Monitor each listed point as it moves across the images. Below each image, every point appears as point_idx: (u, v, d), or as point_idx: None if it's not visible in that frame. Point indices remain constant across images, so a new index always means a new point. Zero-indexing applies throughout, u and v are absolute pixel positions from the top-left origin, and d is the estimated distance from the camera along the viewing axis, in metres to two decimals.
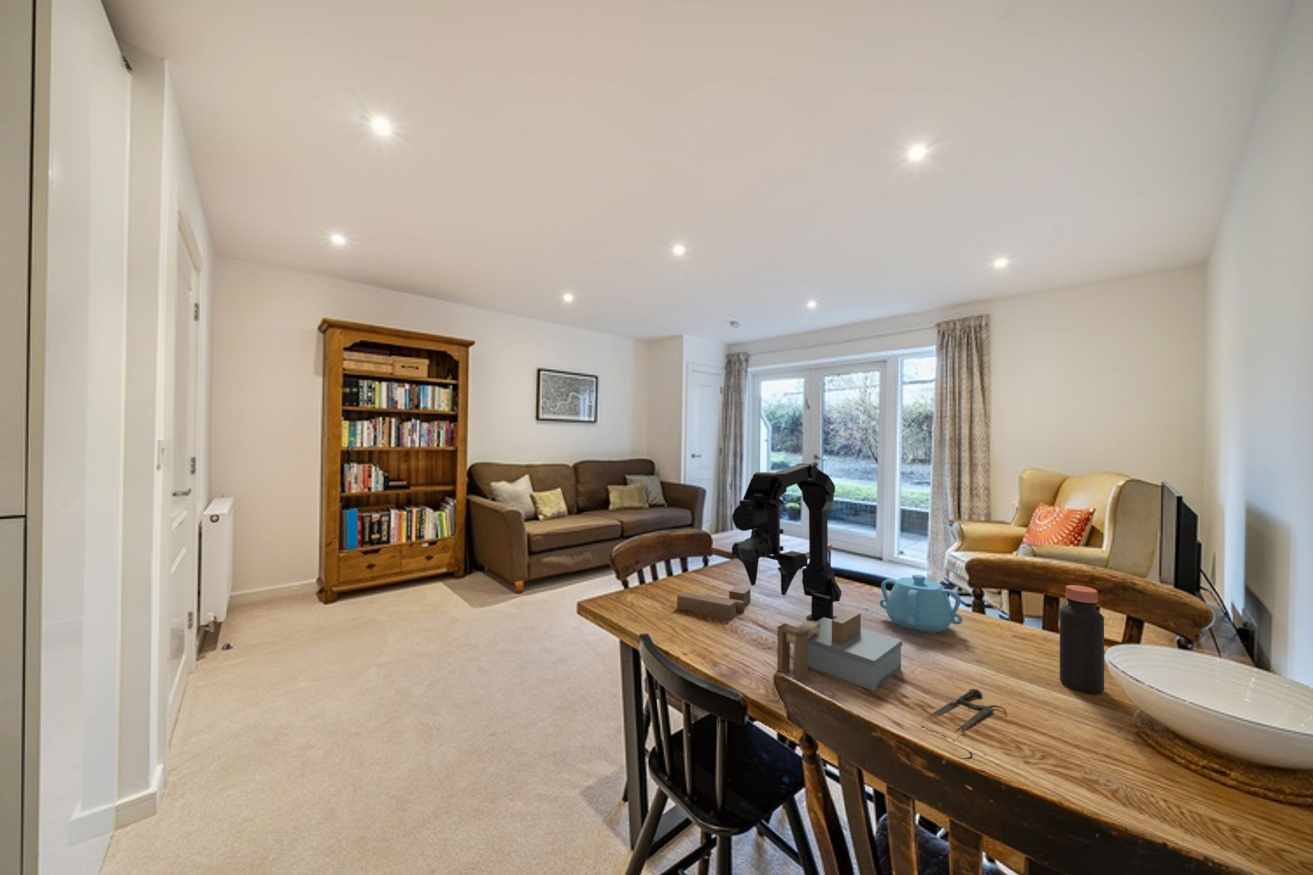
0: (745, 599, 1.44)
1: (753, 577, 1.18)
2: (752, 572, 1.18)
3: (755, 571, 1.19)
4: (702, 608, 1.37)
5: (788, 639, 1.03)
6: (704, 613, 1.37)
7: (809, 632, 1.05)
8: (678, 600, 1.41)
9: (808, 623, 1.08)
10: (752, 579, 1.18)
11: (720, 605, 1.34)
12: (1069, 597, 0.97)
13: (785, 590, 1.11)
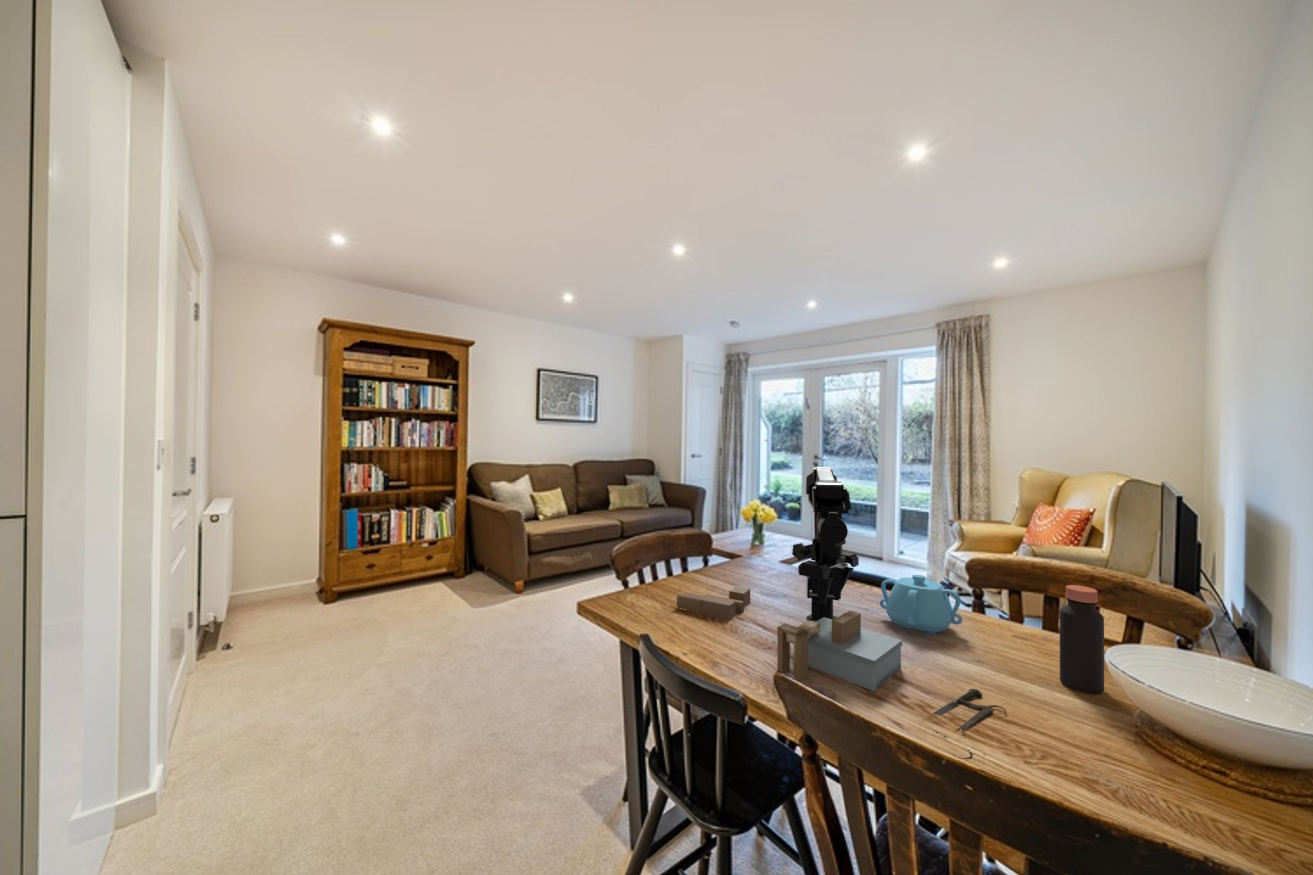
0: (745, 599, 1.44)
1: (835, 588, 1.16)
2: (835, 583, 1.17)
3: (839, 584, 1.16)
4: (701, 608, 1.37)
5: (788, 639, 1.03)
6: (703, 613, 1.37)
7: (809, 632, 1.05)
8: (678, 600, 1.42)
9: (808, 623, 1.08)
10: (834, 590, 1.17)
11: (720, 604, 1.34)
12: (1069, 597, 0.97)
13: (821, 598, 1.12)
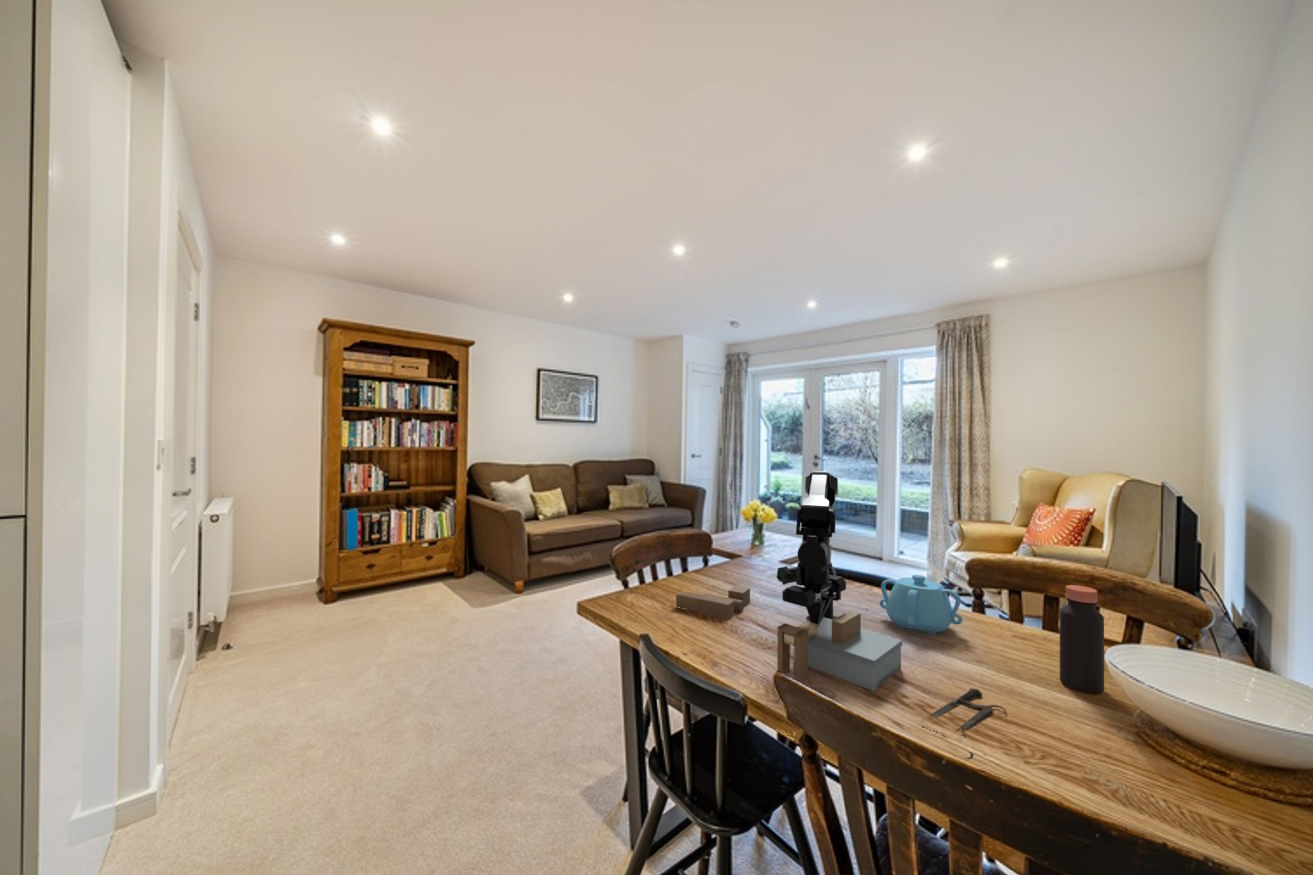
0: (744, 598, 1.44)
1: None
2: None
3: None
4: (700, 607, 1.38)
5: (786, 640, 1.02)
6: (702, 612, 1.38)
7: None
8: (677, 599, 1.42)
9: (806, 624, 1.08)
10: None
11: (718, 604, 1.35)
12: (1069, 597, 0.97)
13: (813, 622, 1.09)
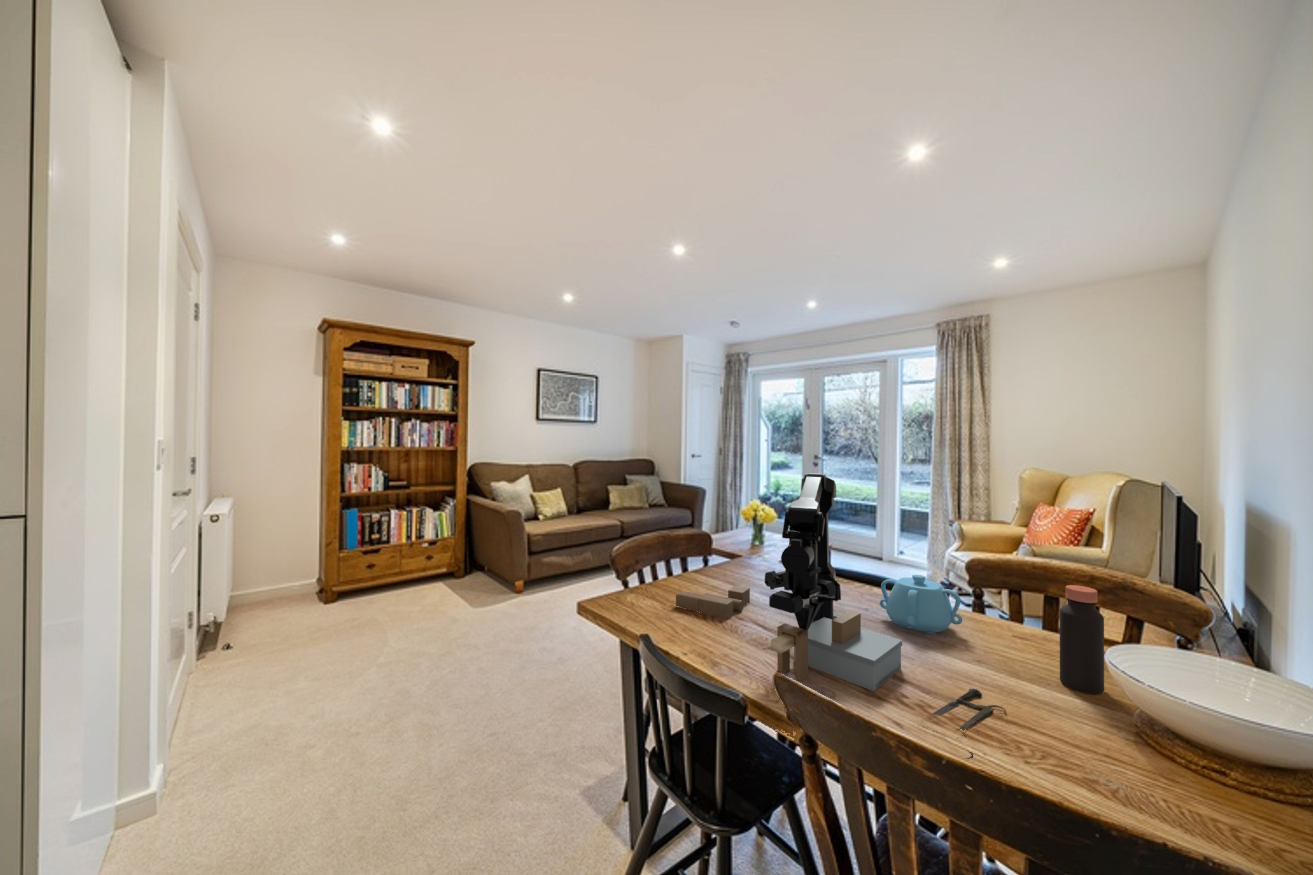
0: (744, 598, 1.44)
1: None
2: None
3: None
4: (700, 606, 1.38)
5: (773, 647, 0.99)
6: (702, 611, 1.38)
7: None
8: (677, 598, 1.43)
9: None
10: None
11: (717, 603, 1.35)
12: (1069, 597, 0.97)
13: (802, 628, 1.06)
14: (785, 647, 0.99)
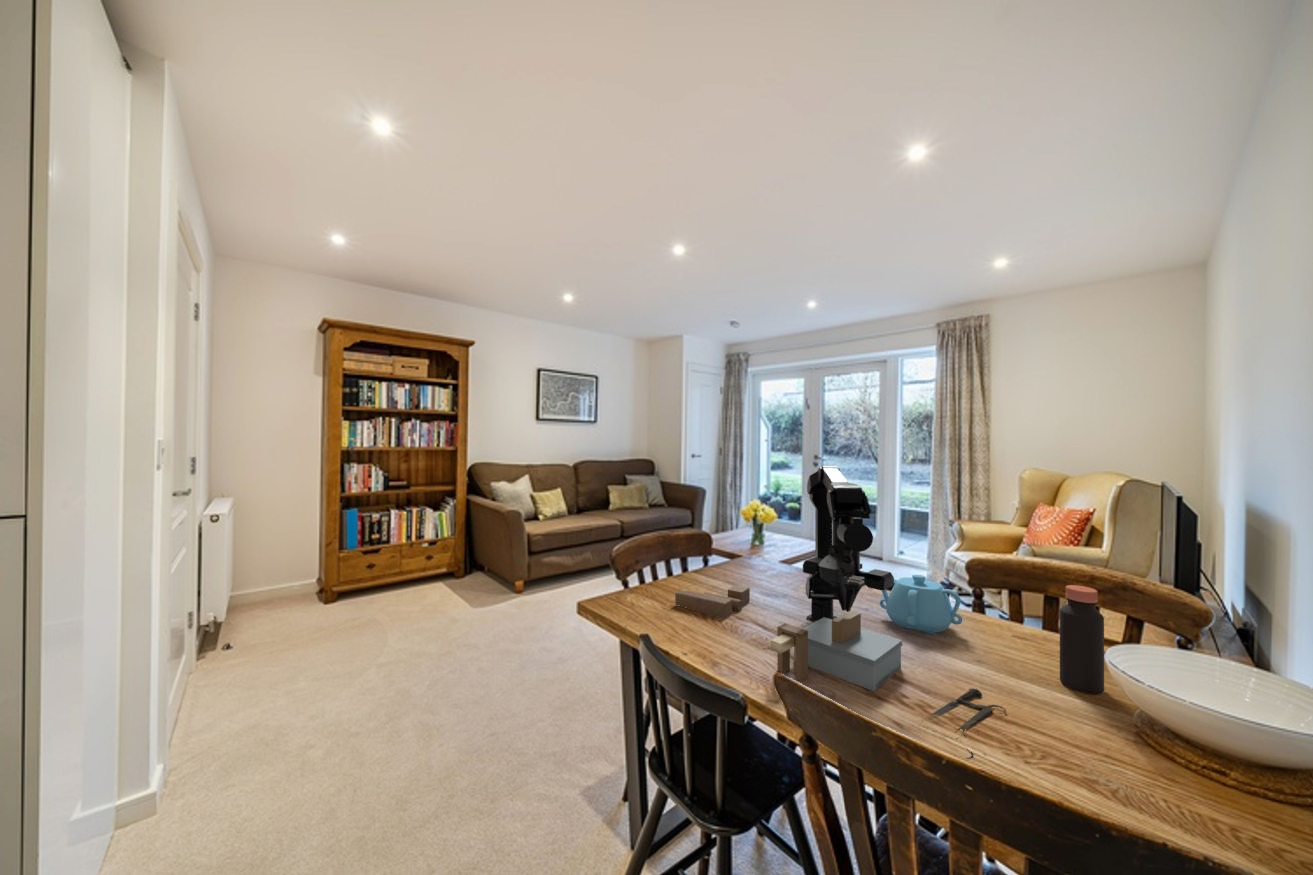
0: (743, 598, 1.45)
1: (844, 601, 1.07)
2: (843, 596, 1.07)
3: (845, 594, 1.08)
4: (698, 605, 1.39)
5: (773, 647, 0.99)
6: (700, 610, 1.39)
7: None
8: (676, 597, 1.44)
9: None
10: (843, 604, 1.07)
11: (716, 602, 1.36)
12: (1069, 597, 0.97)
13: (850, 606, 1.06)
14: (785, 647, 0.99)
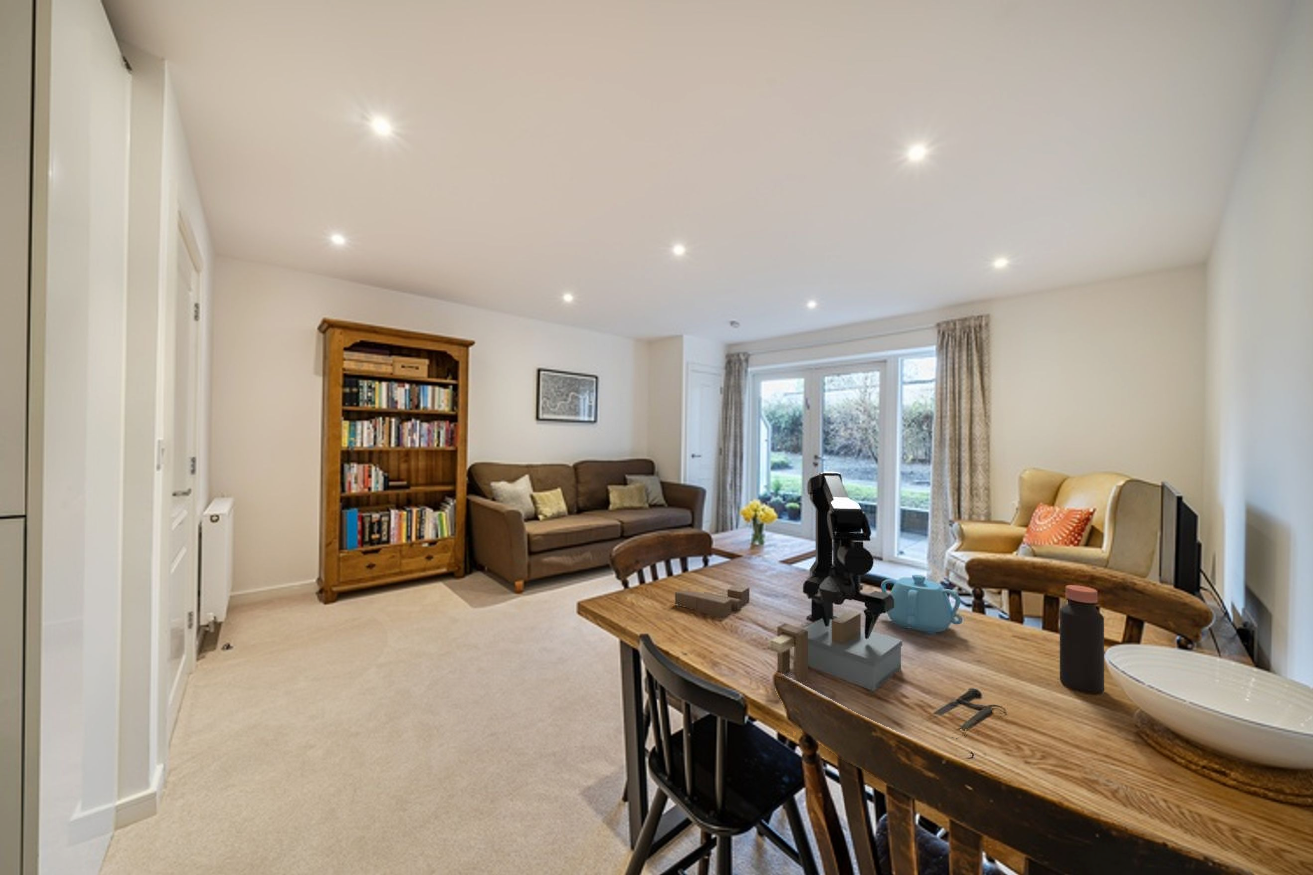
0: (743, 597, 1.45)
1: (827, 617, 1.10)
2: (826, 612, 1.10)
3: (828, 611, 1.11)
4: (698, 605, 1.40)
5: (773, 647, 0.99)
6: (700, 610, 1.39)
7: None
8: (676, 596, 1.45)
9: None
10: (826, 620, 1.10)
11: (715, 602, 1.36)
12: (1069, 597, 0.97)
13: (869, 633, 1.03)
14: (785, 647, 0.99)
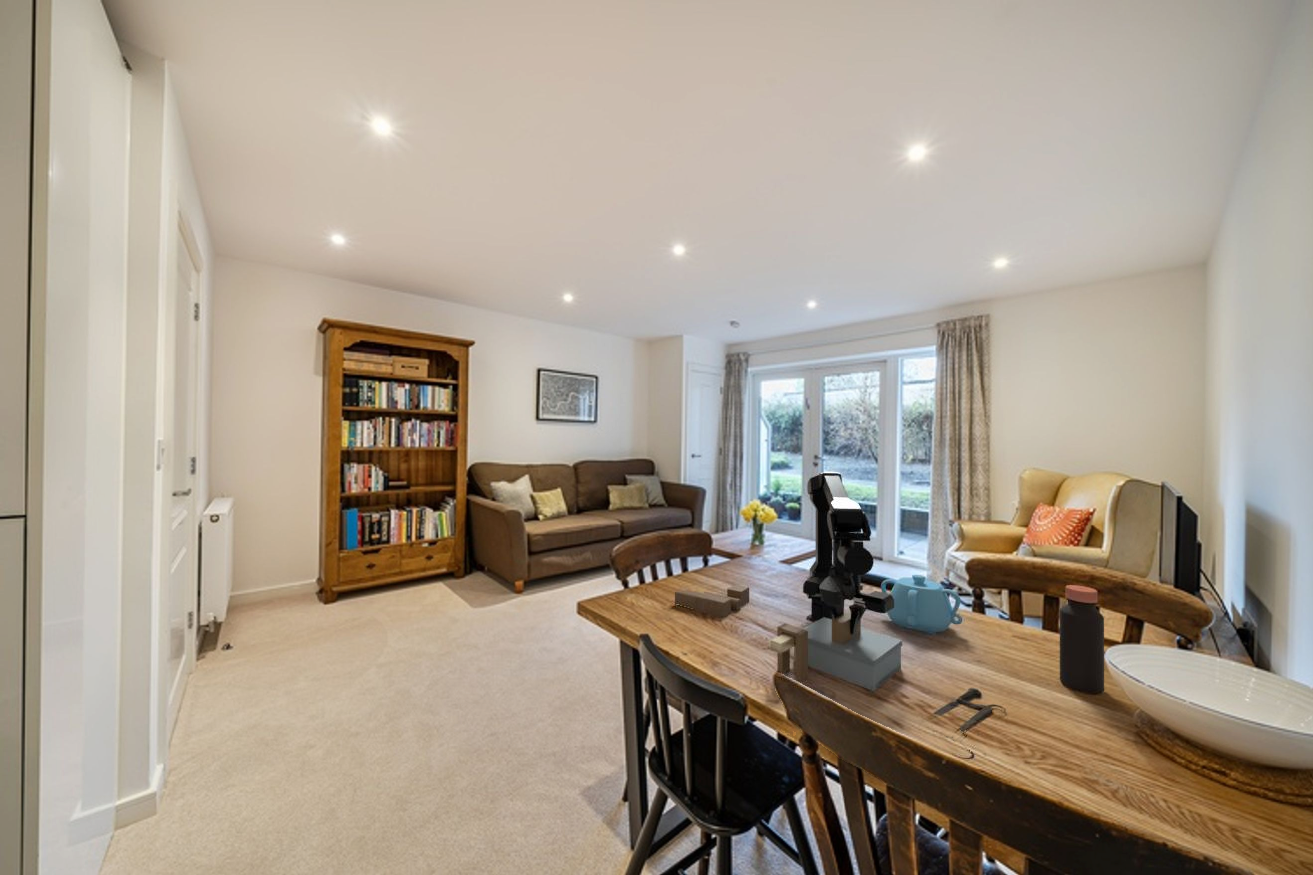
0: (743, 597, 1.45)
1: None
2: None
3: (842, 614, 1.09)
4: (697, 604, 1.40)
5: (773, 647, 0.99)
6: (699, 609, 1.40)
7: None
8: (675, 596, 1.45)
9: None
10: None
11: (714, 602, 1.37)
12: (1069, 597, 0.97)
13: (854, 629, 1.06)
14: (785, 647, 0.99)
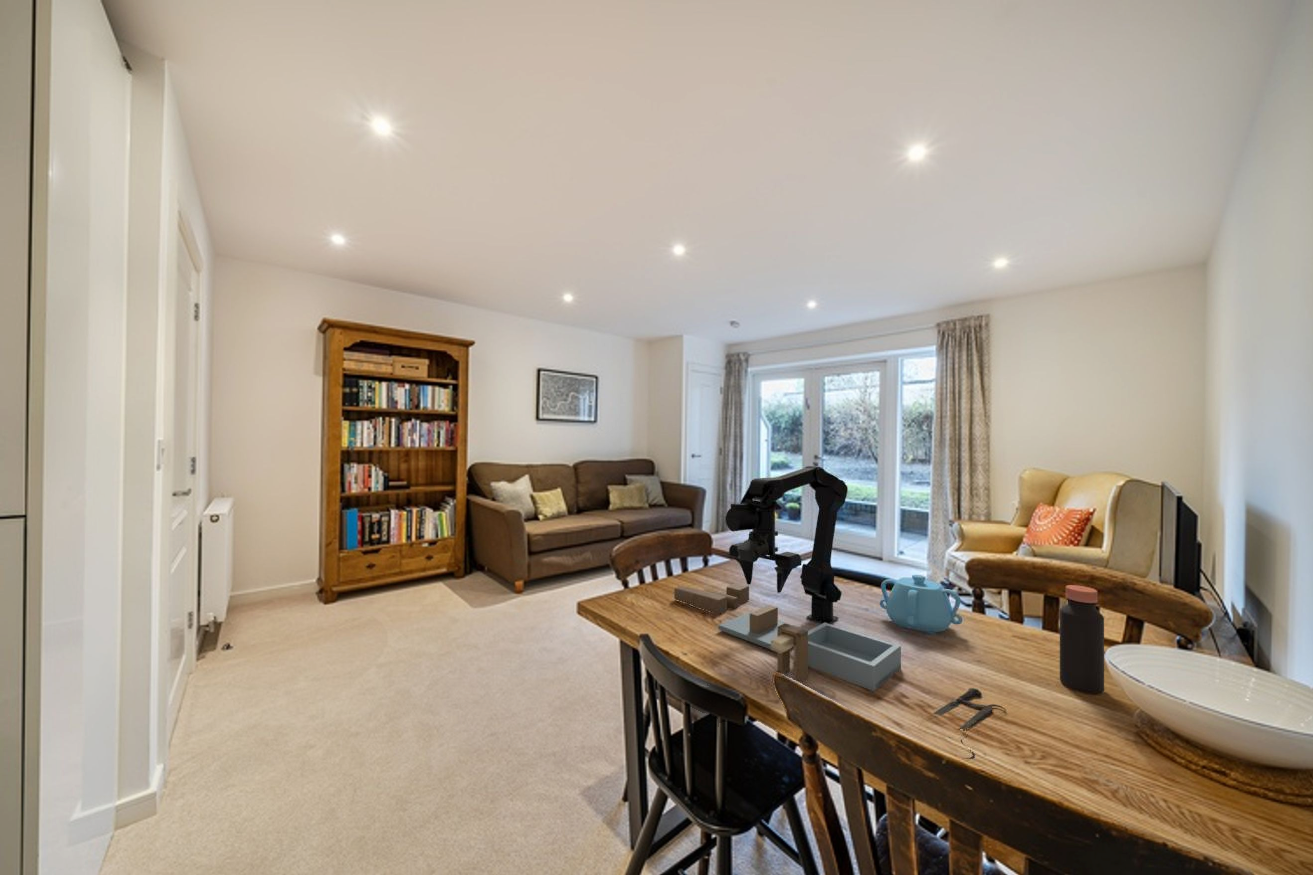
0: (741, 596, 1.47)
1: (749, 577, 1.26)
2: (748, 572, 1.26)
3: (751, 571, 1.27)
4: (695, 601, 1.43)
5: (773, 647, 0.99)
6: (696, 606, 1.43)
7: None
8: (675, 592, 1.49)
9: None
10: (748, 578, 1.26)
11: (710, 599, 1.39)
12: (1069, 597, 0.97)
13: (780, 588, 1.19)
14: (785, 647, 0.99)
